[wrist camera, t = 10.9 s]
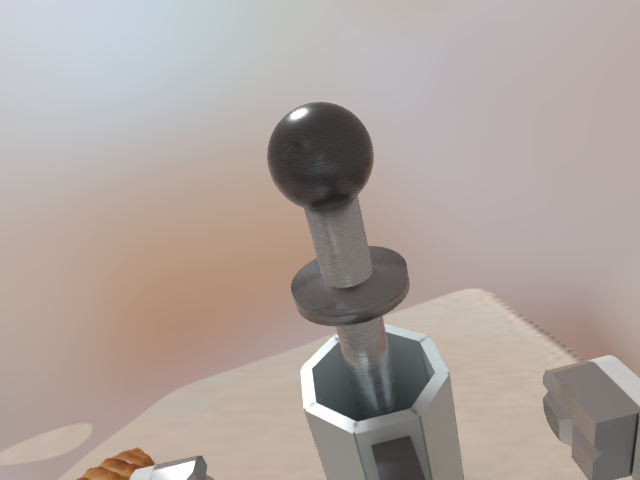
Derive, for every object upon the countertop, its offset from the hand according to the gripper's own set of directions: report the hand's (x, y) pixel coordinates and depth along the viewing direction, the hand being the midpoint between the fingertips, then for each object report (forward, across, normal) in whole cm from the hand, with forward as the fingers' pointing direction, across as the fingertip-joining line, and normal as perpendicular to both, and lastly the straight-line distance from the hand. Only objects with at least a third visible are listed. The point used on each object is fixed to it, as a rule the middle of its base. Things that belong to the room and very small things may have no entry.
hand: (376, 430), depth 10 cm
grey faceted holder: (+11, -1, +22) cm, 25 cm away
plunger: (+12, -1, +20) cm, 23 cm away
